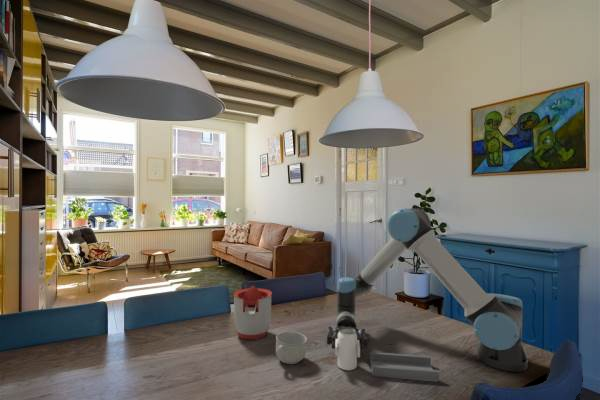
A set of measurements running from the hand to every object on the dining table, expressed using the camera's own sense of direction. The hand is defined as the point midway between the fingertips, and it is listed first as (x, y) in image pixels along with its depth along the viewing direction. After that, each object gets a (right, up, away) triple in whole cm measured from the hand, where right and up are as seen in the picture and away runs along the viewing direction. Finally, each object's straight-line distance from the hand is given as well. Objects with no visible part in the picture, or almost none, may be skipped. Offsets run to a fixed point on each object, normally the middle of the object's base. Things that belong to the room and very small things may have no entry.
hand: (347, 352), depth 105 cm
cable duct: (+18, -7, +3) cm, 20 cm away
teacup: (-19, -7, +7) cm, 22 cm away
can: (+1, -7, +5) cm, 9 cm away
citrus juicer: (-35, -7, +29) cm, 46 cm away
